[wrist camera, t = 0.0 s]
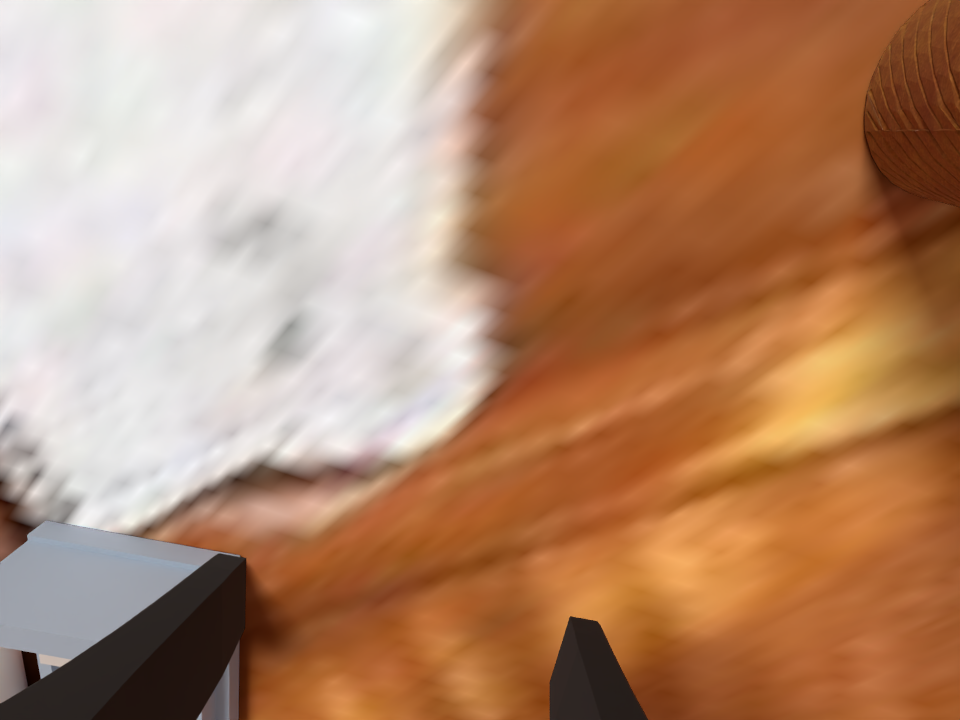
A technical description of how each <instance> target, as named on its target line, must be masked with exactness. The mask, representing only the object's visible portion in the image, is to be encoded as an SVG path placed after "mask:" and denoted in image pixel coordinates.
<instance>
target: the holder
mask: <svg viewBox="0 0 960 720" xmlns="http://www.w3.org/2000/svg"><path fill="white" fill-rule="evenodd" d="M27 537H28V541H27V542H26V543H24V544H23V545H22V546H20V547H19V548H18V549H17V550H15V551H14V552H13V553H12V554H10V555H9V556H8V557H6V558H5V559H4V560H3V561H1V562H0V647H4V648H9V649H15V650H20V651H26V652H31V653H36V655H37V660H38V666H39V671H40V677H41V679H42V678H44V677H45V676H47V675H49V674H50V673H52V672H53V671H55V670H56V669H58V668H60V667H61V666H63V665H64V664H66V663H67V662H69V661H70V660H72V659H73V658H75V657H76V656H78V655H79V654H81V653H82V652H84V651H85V650H87V649H88V648H90V647H91V646H93V645H94V644H96V643H97V642H99V641H100V640H102V639H103V638H104V637H106V636H107V635H109V634H110V633H112V632H113V631H115V630H116V629H118V628H119V627H120V626H122V625H123V624H125V623H126V622H127V621H129V620H130V619H131V618H133V617H134V616H136V615H137V614H138V613H140V612H141V611H142V610H144V609H145V608H146V607H148V606H149V605H151V604H152V603H153V602H155V601H156V600H157V599H159V598H160V597H161V596H163V595H164V594H165V593H167V592H168V591H169V590H171V589H172V588H173V587H175V586H176V585H177V584H178V583H180V582H181V581H182V580H184V579H185V578H186V577H188V576H189V575H190V574H191V573H193V572H194V571H195V570H197V569H198V568H199V567H200V566H202V565H203V564H204V563H206V562H207V561H208V560H210V559H211V558H212V557H214V556H215V555H217V554H218V553H221V554H226V555H232V556H237V557H240V555H234V554H229V553H223V552H218V551H212V550H206V549H201V548H195V547H190V546H184V545H179V544H173V543H168V542H162V541H157V540H151V539H145V538H140V537H134V536H129V535H123V534H118V533H112V532H107V531H101V530H95V529H90V528H84V527H79V526H73V525H68V524H62V523H57V522H51V521H45V522H44V523H42V524H41V525H40V526H38V527H37V528H36V529H34V530H33V531H32V532H31V533H29V534H28V535H27ZM197 720H239V642H238V644H237V646H236V649H235V651H234V653H233V655H232V657H231V659H230V661H229V664H228V666H227V668H226V670H225V672H224V674H223V676H222V678H221V680H220V681H219V683H218V685H217V686H216V688H215V690H214V691H213V693H212V695H211V697H210V698H209V700H208V702H207V703H206V705H205V707H204V708H203V710H202V712H201V713H200V715H199V717H198V718H197Z"/></svg>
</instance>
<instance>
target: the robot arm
mask: <svg viewBox="0 0 960 720" xmlns="http://www.w3.org/2000/svg"><path fill="white" fill-rule="evenodd" d="M245 598H246V558H243V557H237V556H232V555H226V554H221V553H218V554H217V555H215V556H214V557H212V558H211V559H210V560H208V561H207V562H206V563H204V564H203V565H202V566H200V567H199V568H198V569H197V570H195V571H194V572H193V573H191V574H190V575H189V576H188V577H186V578H185V579H184V580H182V581H181V582H180V583H178V584H177V585H176V586H175V587H173V588H172V589H171V590H169V591H168V592H167V593H165V594H164V595H163V596H161V597H160V598H159V599H157V600H156V601H155V602H153V603H152V604H151V605H149V606H148V607H146V608H145V609H144V610H142V611H141V612H140V613H138V614H137V615H136V616H134V617H133V618H131V619H130V620H129V621H127V622H126V623H125V624H123V625H122V626H120V627H119V628H118V629H116V630H115V631H113V632H112V633H110V634H109V635H107V636H106V637H104V638H103V639H102V640H100V641H99V642H97V643H96V644H94V645H93V646H91V647H90V648H88V649H87V650H85V651H84V652H82V653H81V654H79V655H78V656H76V657H75V658H73V659H72V660H70V661H69V662H67V663H66V664H64V665H63V666H61V667H60V668H58V669H56V670H55V671H53V672H52V673H50V674H49V675H47V676H45V677H44V678H42V679H40V680H39V681H37V682H36V683H34V684H32V685H31V686H29V687H27V688H26V689H24V690H22V691H21V692H19V693H17V694H16V695H14V696H12V697H11V698H9V699H7V700H5V701H4V702H2V703H0V720H197V718H198V717H199V715H200V713H201V712H202V710H203V708H204V707H205V705H206V703H207V702H208V700H209V698H210V697H211V695H212V693H213V691H214V690H215V688H216V686H217V685H218V683H219V681H220V680H221V678H222V676H223V674H224V672H225V670H226V668H227V666H228V664H229V661H230V659H231V657H232V655H233V653H234V651H235V649H236V646H237V644H238V642H239V640H240V638H241V635H242V633H243V631H244V629H245ZM550 720H648V719H647V717H646V715H645V713H644V711H643V710H642V708H641V706H640V704H639V702H638V700H637V699H636V697H635V695H634V693H633V691H632V689H631V687H630V685H629V683H628V681H627V679H626V677H625V675H624V673H623V671H622V669H621V667H620V665H619V663H618V661H617V659H616V657H615V655H614V653H613V651H612V649H611V647H610V645H609V643H608V640H607V638H606V636H605V634H604V632H603V630H602V628H601V626H600V624H599V623H598V621H593V620H587V619H582V618H576V617H571V616H570V618H569V621H568V625H567V628H566V631H565V634H564V638H563V641H562V644H561V647H560V651H559V654H558V657H557V660H556V664H555V667H554V670H553V673H552V677H551V680H550Z"/></svg>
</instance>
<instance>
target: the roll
mask: <svg viewBox="0 0 960 720" xmlns="http://www.w3.org/2000/svg"><path fill="white" fill-rule="evenodd" d="M27 687H28V684H27V679H26V673H25V668H24V663H23V658H22V653H21V651H20V650H15V649H9V648H4V647H0V703H2V702H4V701H5V700H7V699H9V698H11V697H12V696H14V695H16V694H17V693H19V692H21V691H22V690H24V689H26V688H27Z"/></svg>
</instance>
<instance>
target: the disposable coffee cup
mask: <svg viewBox="0 0 960 720" xmlns="http://www.w3.org/2000/svg"><path fill="white" fill-rule="evenodd" d="M865 135H866V138H867V141H868V145H869V148H870V152H871V155H872V157H873V159H874V161H875V163H876V165H877V166H878V168H879V170H880V171H881V172H882V173H883V174H884V175H885V176H886V177H887V178H888V179H889V180H890V181H891V182H892V183H893V184H894V185H896V186H898V187H900V188H902V189H903V190H905V191H907V192H909V193H910V194H913V195H916V196H919V197H923V198H927V199H931V200H935V201H939V202H942V203H946V204H950V205H953V206H957V207H960V0H929V1H928V2H927V3H925V4H924V5H923V6H921V7H920V8H919V9H918V10H917V11H916V12H915V13H914V14H913V15H912V16H911V17H910V18H909V19H908V20H907V21H906V22H905V24H904V25H903V26H902V27H901V28H900V29H899V31H898V32H897V34H896V35H895V37H894V38H893V40H892V41H891V43H890V44H889V45H888V47H887V48H886V50H885V51H884V53H883V55H882V57H881V59H880V61H879V64H878V66H877V68H876V70H875V72H874V74H873V76H872V80H871V83H870V86H869V89H868V93H867V100H866V107H865Z"/></svg>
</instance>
